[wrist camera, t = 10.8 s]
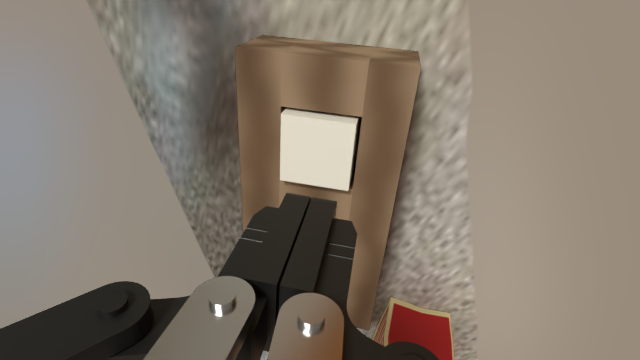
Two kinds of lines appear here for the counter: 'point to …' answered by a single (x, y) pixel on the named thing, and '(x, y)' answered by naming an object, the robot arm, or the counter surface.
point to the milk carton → (416, 328)
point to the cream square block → (318, 148)
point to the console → (333, 97)
